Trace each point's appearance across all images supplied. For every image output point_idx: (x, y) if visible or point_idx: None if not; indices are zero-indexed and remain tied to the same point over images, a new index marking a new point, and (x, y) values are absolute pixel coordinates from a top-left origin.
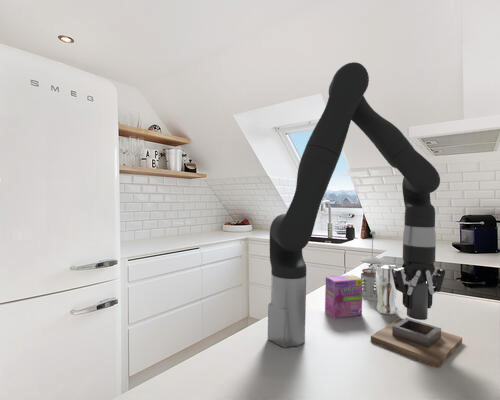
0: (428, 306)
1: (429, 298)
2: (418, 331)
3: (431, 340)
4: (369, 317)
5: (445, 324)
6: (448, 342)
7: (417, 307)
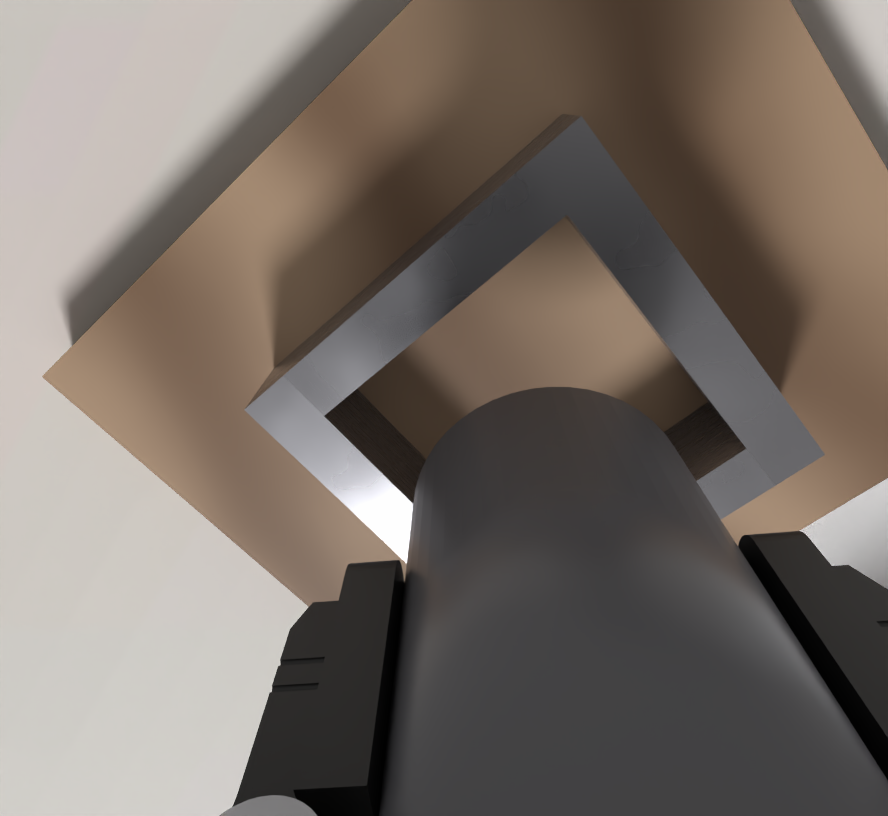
0: (393, 575)
1: (353, 705)
2: None
3: (501, 177)
4: None
5: (57, 678)
6: (248, 267)
7: (686, 502)
